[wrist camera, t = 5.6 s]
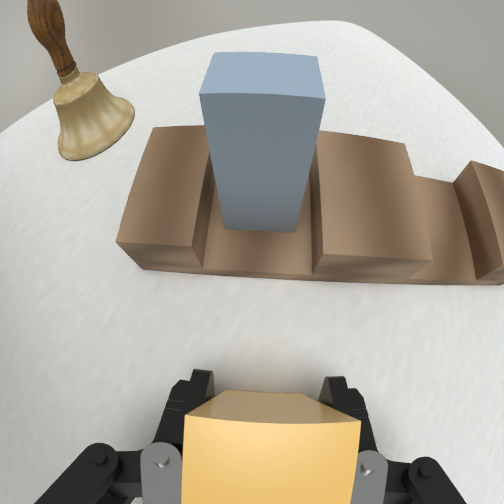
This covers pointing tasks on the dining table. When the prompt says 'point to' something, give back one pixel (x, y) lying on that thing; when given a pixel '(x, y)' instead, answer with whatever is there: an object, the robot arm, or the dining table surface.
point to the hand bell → (78, 91)
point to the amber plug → (268, 451)
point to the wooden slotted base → (320, 217)
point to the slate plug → (262, 134)
